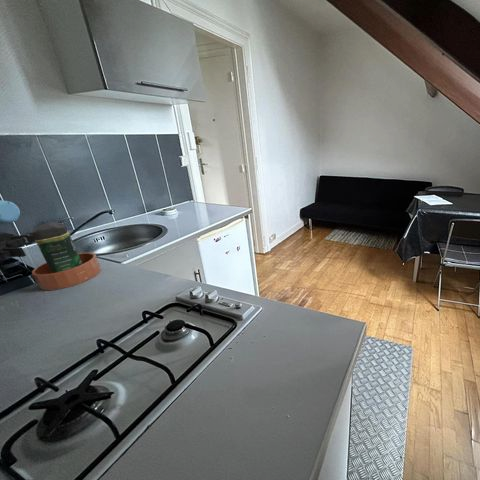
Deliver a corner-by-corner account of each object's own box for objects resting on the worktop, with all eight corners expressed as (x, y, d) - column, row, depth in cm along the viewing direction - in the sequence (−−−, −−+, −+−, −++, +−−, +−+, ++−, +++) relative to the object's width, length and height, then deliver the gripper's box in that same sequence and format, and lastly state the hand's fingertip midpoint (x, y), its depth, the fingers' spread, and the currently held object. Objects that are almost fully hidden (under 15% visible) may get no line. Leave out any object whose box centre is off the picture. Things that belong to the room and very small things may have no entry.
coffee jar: (86, 275, 88) (62, 224, 81) (54, 284, 84) (26, 231, 76) (86, 266, 95) (64, 217, 88) (57, 274, 90) (31, 223, 83)
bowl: (31, 296, 80) (22, 280, 77) (49, 274, 93) (42, 260, 90) (96, 279, 87) (90, 265, 85) (104, 261, 100) (99, 248, 97)
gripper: (42, 238, 101) (88, 238, 98) (-51, 270, 78) (5, 272, 75) (32, 220, 98) (80, 219, 95) (-67, 248, 75) (-9, 248, 72)
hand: (47, 243), depth 85 cm, fingers open, 13 cm apart
